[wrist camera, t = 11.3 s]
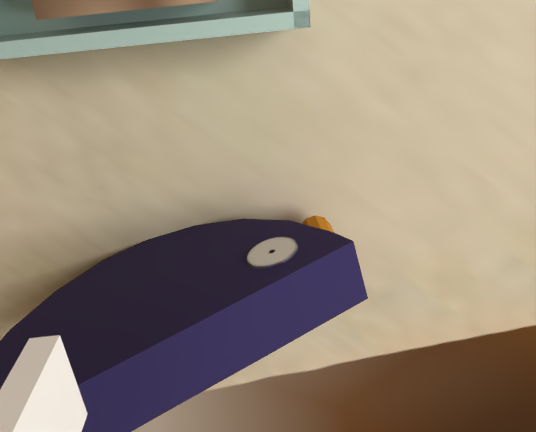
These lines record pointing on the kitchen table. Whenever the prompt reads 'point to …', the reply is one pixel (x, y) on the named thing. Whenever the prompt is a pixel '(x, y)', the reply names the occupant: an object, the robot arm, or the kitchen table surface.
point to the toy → (190, 312)
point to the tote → (142, 25)
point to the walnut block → (99, 6)
